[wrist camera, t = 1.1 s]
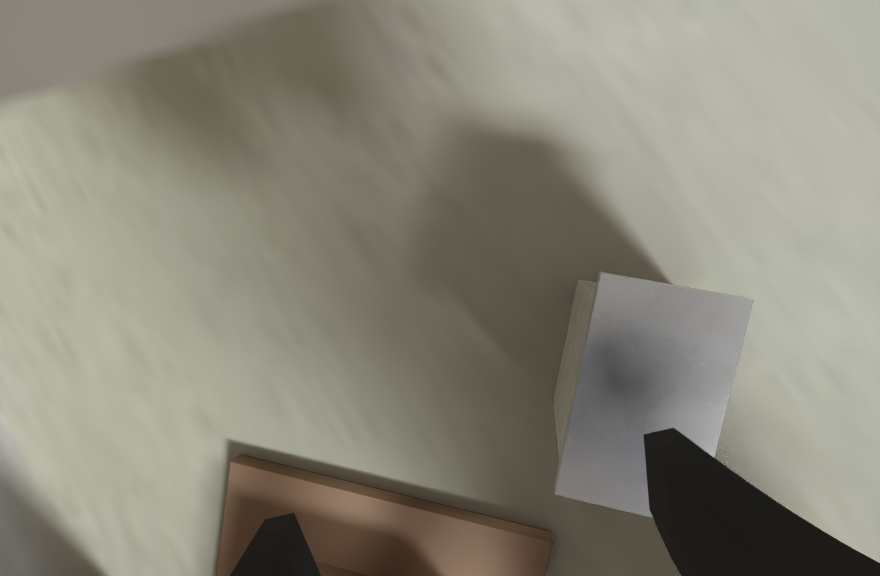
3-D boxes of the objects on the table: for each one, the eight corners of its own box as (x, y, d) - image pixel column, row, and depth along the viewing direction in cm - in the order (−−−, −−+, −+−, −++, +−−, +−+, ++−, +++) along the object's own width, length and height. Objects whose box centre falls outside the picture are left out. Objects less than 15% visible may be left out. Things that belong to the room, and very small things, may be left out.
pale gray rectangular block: (688, 277, 22) (753, 300, 15) (650, 440, 22) (696, 528, 16) (582, 259, 22) (600, 272, 16) (549, 418, 23) (554, 494, 17)
